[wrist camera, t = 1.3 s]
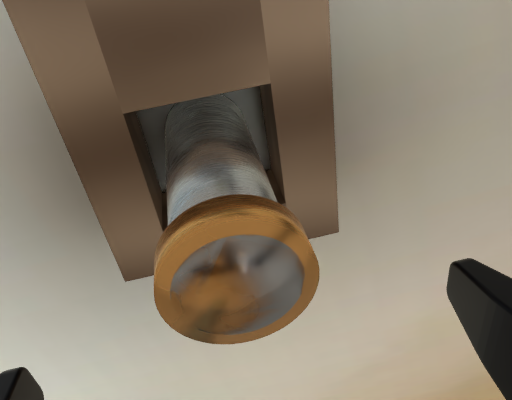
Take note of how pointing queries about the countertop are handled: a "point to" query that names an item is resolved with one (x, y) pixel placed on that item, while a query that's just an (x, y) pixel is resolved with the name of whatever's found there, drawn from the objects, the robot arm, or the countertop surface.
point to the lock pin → (226, 233)
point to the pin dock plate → (182, 98)
